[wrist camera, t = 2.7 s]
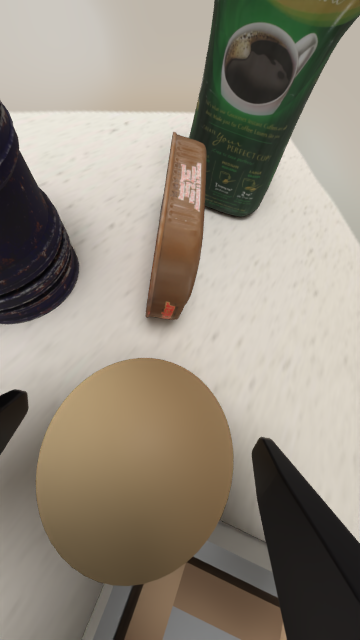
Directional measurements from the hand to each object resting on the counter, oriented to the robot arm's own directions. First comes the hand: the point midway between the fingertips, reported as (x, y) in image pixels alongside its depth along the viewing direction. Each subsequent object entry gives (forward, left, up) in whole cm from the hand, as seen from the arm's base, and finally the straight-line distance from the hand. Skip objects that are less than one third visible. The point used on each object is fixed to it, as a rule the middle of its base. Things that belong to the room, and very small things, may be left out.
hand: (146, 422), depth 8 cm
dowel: (0, 0, -8) cm, 8 cm away
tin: (+6, +12, -8) cm, 16 cm away
